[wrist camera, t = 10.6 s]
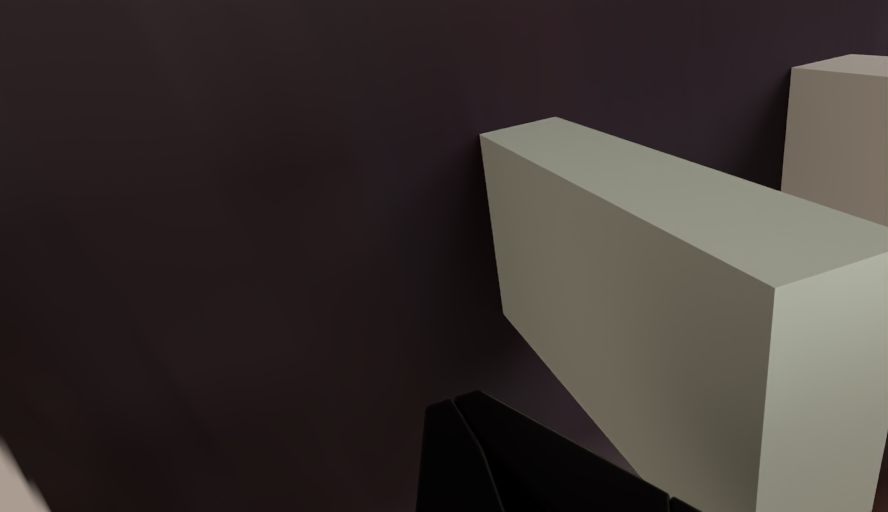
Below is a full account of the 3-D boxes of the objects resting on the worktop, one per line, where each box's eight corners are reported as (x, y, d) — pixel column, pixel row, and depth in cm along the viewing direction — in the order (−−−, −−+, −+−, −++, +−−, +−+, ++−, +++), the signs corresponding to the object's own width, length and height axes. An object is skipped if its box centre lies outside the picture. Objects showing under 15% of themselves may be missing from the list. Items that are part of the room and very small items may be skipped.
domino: (503, 313, 16) (747, 603, 8) (479, 134, 14) (775, 287, 6) (569, 294, 17) (863, 551, 9) (555, 116, 15) (926, 239, 7)
